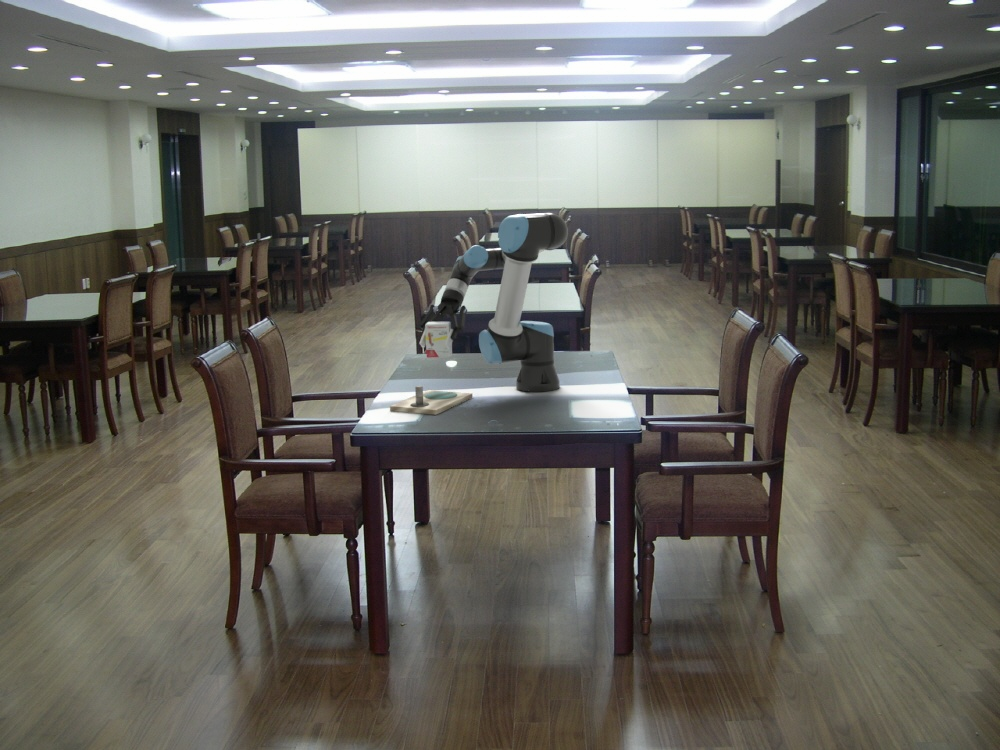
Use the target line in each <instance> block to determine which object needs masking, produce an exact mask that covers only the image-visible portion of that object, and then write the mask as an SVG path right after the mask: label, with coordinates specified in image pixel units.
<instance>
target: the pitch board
mask: <svg viewBox="0 0 1000 750" xmlns="http://www.w3.org/2000/svg"><path fill="white" fill-rule="evenodd" d="M423 387H424V386H423V385H416V386H415V387H414V390H415V391H414V392H415V395H413V396H411V397H409V398H406V399H404V400H401V401H398V402H395V403H394V404H392V405H389V410H390V411H393V412H402V413H411V414H412V413H414V414H424V415H439V414H440V413H443V412H445V411H447V410H449V409H451V407H452V408H453V406H454V407H456V406H458V405H460V404H462V403H464V402H463V401H465V402H467V401H468V399H469V400H471V399H473V398H472V397H474V396H473V393H470V392H462V391H461V392H457V391H447V390H433V389H432V390H431V389H428V390H425V391H424V388H423ZM470 398H471V399H470ZM466 400H467V401H466ZM461 402H462V403H461ZM459 403H460V404H459ZM457 404H458V405H457ZM455 405H456V406H455Z"/></svg>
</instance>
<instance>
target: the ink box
mask: <svg viewBox="0 0 1000 750" xmlns="http://www.w3.org/2000/svg"><path fill="white" fill-rule="evenodd" d="M450 329H452V321H438V322H428V323H426V324H425V334H426V344H425V351H426V358H450V357H452V356H453V343H452V344H451V347H450V349H447V347H446V346H445V342H446V340H447V337H448V334H449V332H450Z"/></svg>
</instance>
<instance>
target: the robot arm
mask: <svg viewBox="0 0 1000 750" xmlns="http://www.w3.org/2000/svg"><path fill="white" fill-rule="evenodd" d="M568 235H569V228H568V225H567V223H566V221H565V220H564V219H563V218H562V217H561V216H559V215H558V214H556V213H554V212H543V213H541V212H540V213H526V214H525V213H524V214H523V213H518V214H517V213H516V214H513V215H508V216H507V217H505V218H504V219H503V220H502V221H501V223H500V225H499V227H498V232H497V238H498V241H497V242H498V245H499V247H496V248H485V247H484V246H481V245H478V244H477V245H476V244H475V245H472V246H471V247H470V248H468V249H467V250H466V251H465V253H464V254H463V255H460V256H458V257H457V259H456V261H455V262H454V264H453V268H452V269H451V274H450V275H449V278H448V281H447V282H446V286H445V288H444V291H443V293H442V295H441V298H440V303H439V304H437V305H434V304H431V305H430V307H429V310H428V311H427V313H426V314H425V316H424V318H423V319H422V320H421V322H420V323H419V325H418V326H419V328H420V329H421V333H420V341H419V345H420V347H421V348H423V349H424V348H426V334H425V324H426V323H428V322H440V320H443V319H444V318H450V319H451V321H450V322H451V329H450V332H449V334H448V337H447V340H446V342H445V346H446V347H447V349H450V347H451V344H452V345H453V342H454V341H455V340H456V338H457V336H458V334H459V332H461V333H463V332H464V331H465V325H466V324H465V323H466V314H467V312H468V309H467V307H466V306H465V305H463V304H464V303H463V302H464V299H465V297H466V295H467V292H468V289H469V286H470V284H471V281H472V279H473V277H475V275H477V273H478V272H483V271H494V270H502V277H501V282H500V286H499V292H498V297H497V303H496V307H495V312H494V313H495V314H494V317H493V318H492V319H490V320H489V322H488V326H487V329H484V330H482V331H480V332H479V334H478V345H479V349H480V352H481V353H480V354H481V355H482V358H483V359H484V361H486V362H487V363H488V364H494V365H495V364H499V365H501V364H503V363H509V362H510V363H511V362H517V361H519V362H520V368H519V371H518V375H517V378H516V381H515V389H517V390H519V391H522V392H529V393H530V392H531V393H533V392H535V393H539V392H540V393H541V392H549V391H555V390H557V389H559V388H560V387H561V386H560V379H559V375H558V371H556V366H555V344H554V337H555V334H554V333H555V332H554V326H553V325H552V324H550V323H548V322H544V321H536V320H535V321H533V320H522V321H521V318H522V317H521V316H522V312H523V307H524V302H525V298H526V294H527V293H526V292H527V288H528V284H529V278H530V272H531V269H532V266H533V265H532V263H534V262H536V261H537V260H538V258H539V254H540V253H542V252H544V251H554V250H555V249H558V248H560V247H562V246H563V244H564V243H566V241H567V239H568ZM458 312H459V316H458V321H457V315H456V314H458Z"/></svg>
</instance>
